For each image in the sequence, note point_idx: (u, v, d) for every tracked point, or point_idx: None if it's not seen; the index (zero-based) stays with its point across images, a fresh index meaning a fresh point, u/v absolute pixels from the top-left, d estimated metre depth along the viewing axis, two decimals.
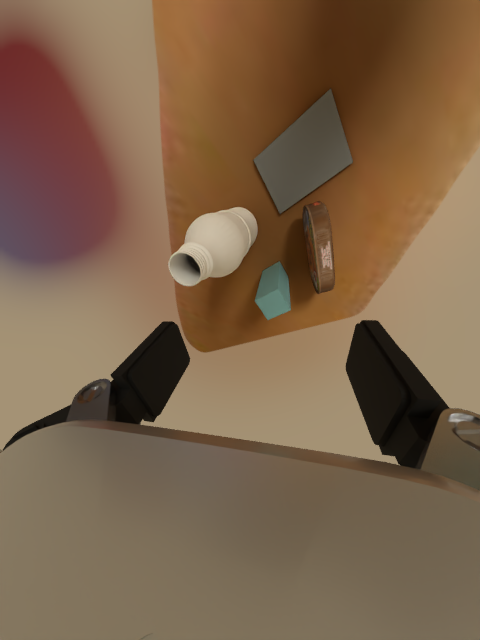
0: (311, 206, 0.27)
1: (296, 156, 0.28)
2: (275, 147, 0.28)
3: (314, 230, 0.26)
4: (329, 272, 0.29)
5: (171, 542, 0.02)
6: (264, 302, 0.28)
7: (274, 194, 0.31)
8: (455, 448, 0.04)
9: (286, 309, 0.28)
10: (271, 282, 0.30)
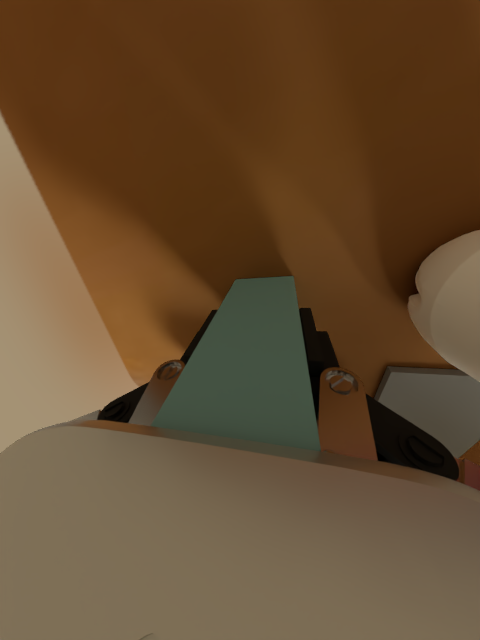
0: None
1: (442, 420, 0.16)
2: None
3: None
4: None
5: (171, 542, 0.02)
6: None
7: (436, 379, 0.14)
8: (333, 400, 0.05)
9: None
10: None
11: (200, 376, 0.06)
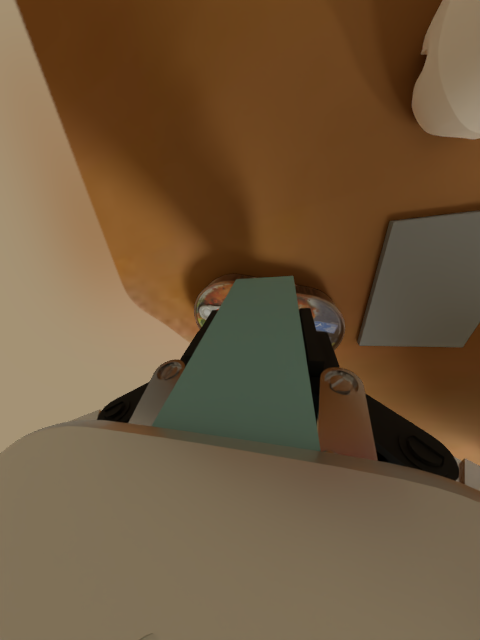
0: None
1: (447, 288, 0.15)
2: None
3: None
4: None
5: (171, 542, 0.02)
6: None
7: (441, 225, 0.13)
8: (333, 400, 0.05)
9: None
10: None
11: (202, 373, 0.06)
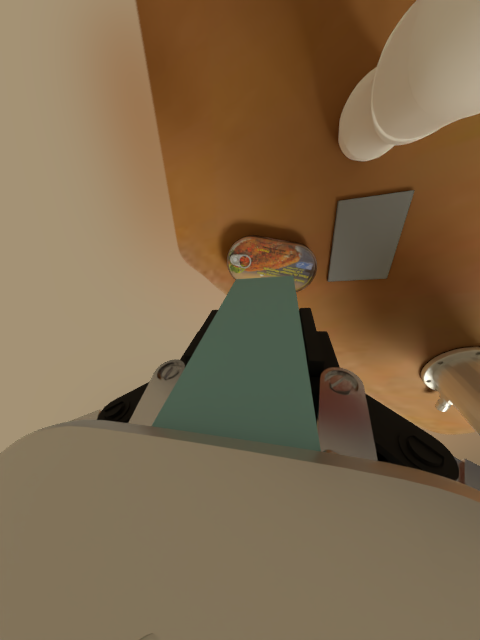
0: None
1: (371, 239, 0.27)
2: (398, 221, 0.26)
3: None
4: None
5: (171, 542, 0.02)
6: None
7: (362, 202, 0.25)
8: (332, 400, 0.05)
9: None
10: None
11: (202, 373, 0.06)
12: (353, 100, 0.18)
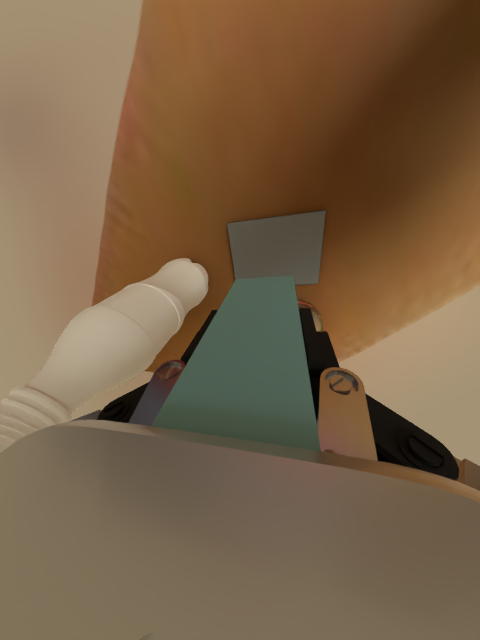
0: (311, 308, 0.27)
1: (271, 248, 0.24)
2: (254, 227, 0.23)
3: (322, 329, 0.28)
4: None
5: (171, 542, 0.02)
6: None
7: (237, 268, 0.27)
8: (333, 400, 0.05)
9: None
10: None
11: (201, 374, 0.06)
12: None
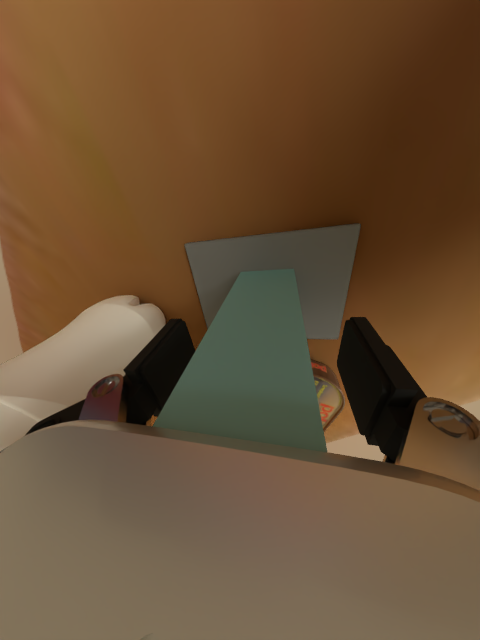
0: (326, 375, 0.17)
1: None
2: (230, 250, 0.13)
3: (342, 405, 0.18)
4: None
5: (171, 542, 0.02)
6: None
7: (208, 311, 0.17)
8: (430, 435, 0.04)
9: None
10: None
11: (216, 344, 0.07)
12: None
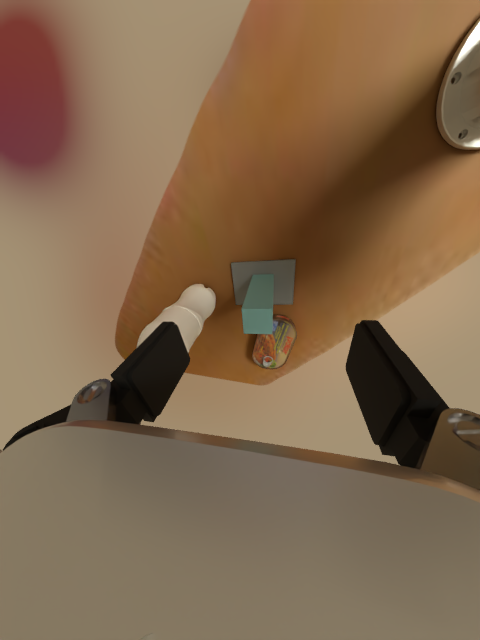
0: (288, 321, 0.38)
1: None
2: (249, 266, 0.35)
3: (296, 336, 0.39)
4: None
5: (171, 542, 0.02)
6: (264, 316, 0.24)
7: (237, 291, 0.38)
8: (455, 448, 0.04)
9: (246, 330, 0.25)
10: None
11: (251, 292, 0.28)
12: None
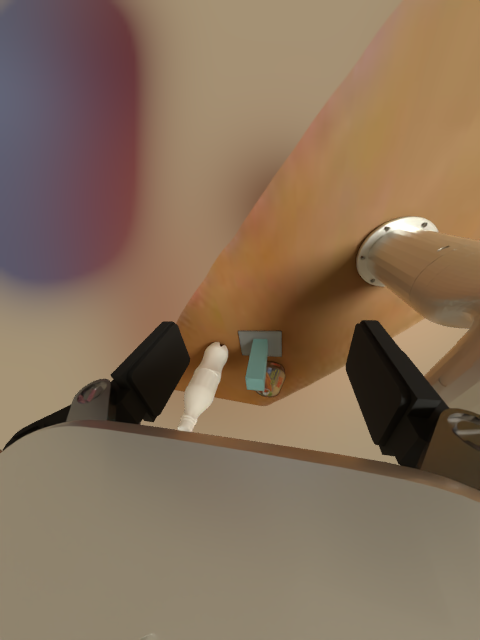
0: (279, 367, 0.54)
1: None
2: (250, 334, 0.51)
3: None
4: None
5: (171, 542, 0.02)
6: (259, 382, 0.40)
7: (242, 347, 0.54)
8: (455, 448, 0.04)
9: (248, 388, 0.42)
10: (265, 373, 0.44)
11: (251, 361, 0.45)
12: None
